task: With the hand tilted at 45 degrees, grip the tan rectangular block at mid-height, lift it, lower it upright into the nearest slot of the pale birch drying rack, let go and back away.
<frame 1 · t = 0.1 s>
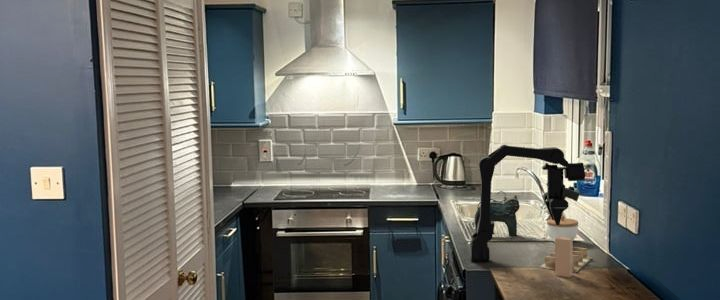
hand: (555, 222, 238), 15 cm above the worktop, fingers open, 9 cm apart
drying rack: (566, 263, 236), on the worktop
lidded bowl: (562, 242, 268), on the worktop
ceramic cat: (497, 236, 284), on the worktop
tan rectangular block: (564, 275, 221), on the worktop
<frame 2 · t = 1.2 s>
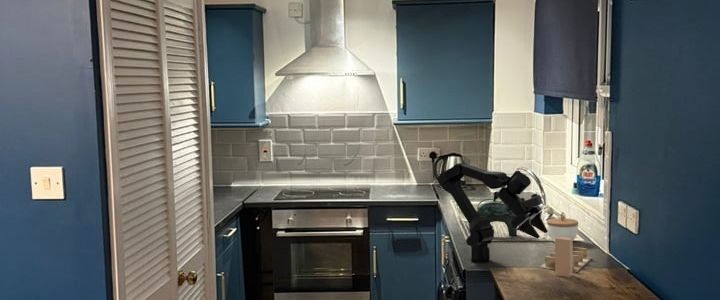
hand: (542, 235, 224), 13 cm above the worktop, fingers open, 9 cm apart
nothing on the worktop moved.
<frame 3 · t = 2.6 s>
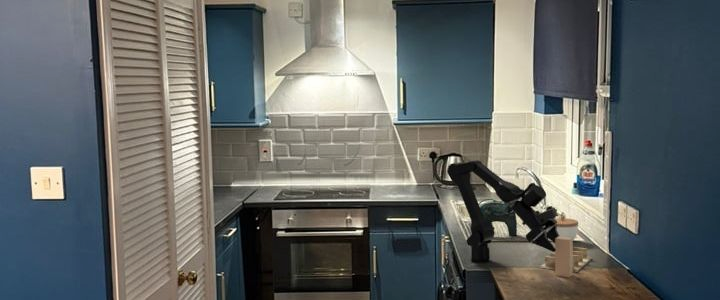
hand: (558, 248, 221), 9 cm above the worktop, fingers open, 9 cm apart
nothing on the worktop moved.
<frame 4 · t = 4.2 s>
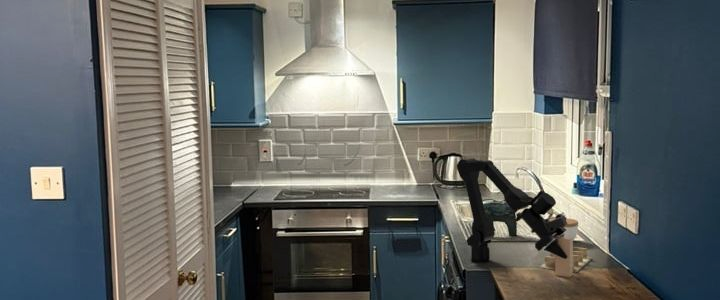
hand: (568, 256, 220), 7 cm above the worktop, fingers closed on tan rectangular block, 4 cm apart
tan rectangular block: (564, 274, 221), on the worktop, touching gripper
everything else where it was.
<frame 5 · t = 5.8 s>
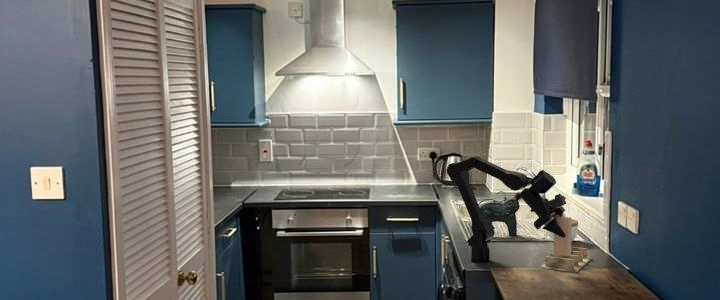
hand: (566, 235, 222), 13 cm above the worktop, fingers closed on tan rectangular block, 3 cm apart
tan rectangular block: (562, 254, 224), point 7 cm above the worktop, touching gripper
everything else where it was.
when the fingers open (9 cm above the worktop, at t = 7.8 s): tan rectangular block drops 1 cm, resting on drying rack.
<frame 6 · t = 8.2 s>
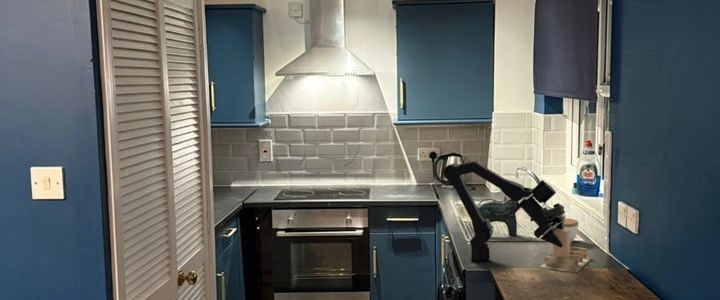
hand: (565, 244, 229), 9 cm above the worktop, fingers open, 8 cm apart
tan rectangular block: (561, 265, 231), point 1 cm above the worktop, touching drying rack
everything else where it was.
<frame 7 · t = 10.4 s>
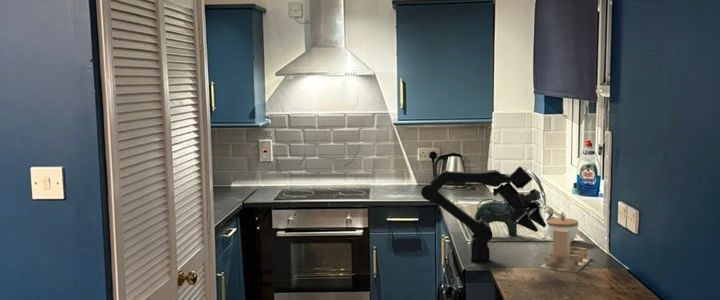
hand: (541, 228, 234), 13 cm above the worktop, fingers open, 9 cm apart
nothing on the worktop moved.
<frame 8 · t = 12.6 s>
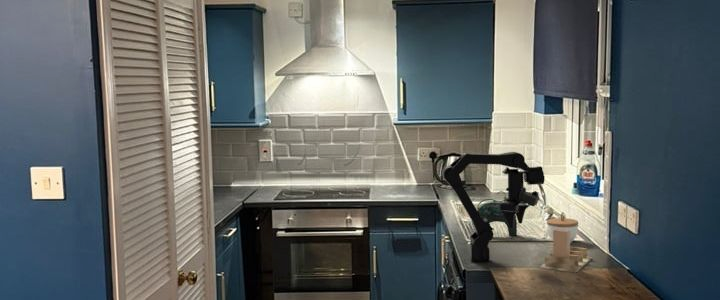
hand: (516, 225, 242), 13 cm above the worktop, fingers open, 9 cm apart
nothing on the worktop moved.
at the end: tan rectangular block 0.1 cm from the target spot on the drying rack, point 0.6 cm above the drying rack's base; tan rectangular block tilted 0°; the gripper is holding nothing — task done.
